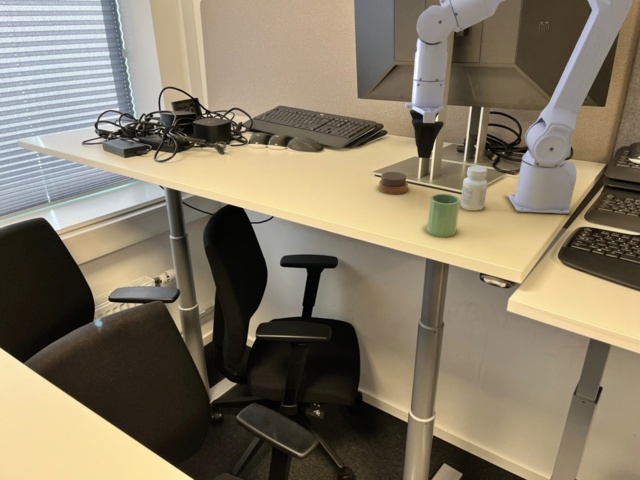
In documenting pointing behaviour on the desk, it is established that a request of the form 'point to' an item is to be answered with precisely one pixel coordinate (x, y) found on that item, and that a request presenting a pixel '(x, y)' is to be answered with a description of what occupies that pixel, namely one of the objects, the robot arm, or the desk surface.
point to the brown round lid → (393, 179)
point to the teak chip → (393, 189)
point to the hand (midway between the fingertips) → (422, 151)
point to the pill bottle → (474, 189)
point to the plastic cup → (443, 215)
